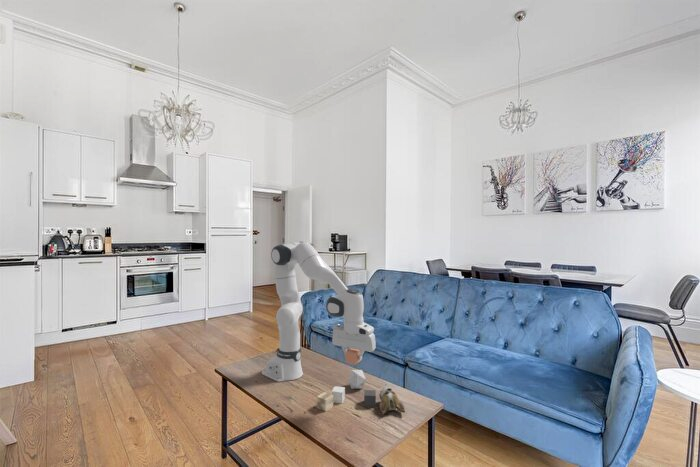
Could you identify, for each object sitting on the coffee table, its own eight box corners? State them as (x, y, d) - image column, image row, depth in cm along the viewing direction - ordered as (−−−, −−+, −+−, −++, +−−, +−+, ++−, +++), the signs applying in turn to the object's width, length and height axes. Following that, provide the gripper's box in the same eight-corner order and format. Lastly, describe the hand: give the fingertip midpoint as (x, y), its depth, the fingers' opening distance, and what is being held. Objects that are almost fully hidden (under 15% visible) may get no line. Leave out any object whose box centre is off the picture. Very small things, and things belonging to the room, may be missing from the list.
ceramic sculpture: (397, 379, 147) (406, 398, 132) (397, 398, 147) (406, 418, 132) (374, 381, 145) (381, 400, 131) (374, 399, 146) (381, 420, 131)
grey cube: (331, 402, 143) (331, 391, 143) (334, 396, 148) (334, 386, 148) (342, 403, 142) (342, 392, 142) (344, 398, 147) (344, 387, 147)
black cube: (364, 406, 140) (364, 395, 140) (364, 400, 145) (364, 389, 145) (375, 407, 139) (375, 395, 139) (375, 401, 144) (375, 390, 144)
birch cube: (317, 407, 138) (317, 396, 138) (324, 403, 142) (324, 392, 142) (325, 411, 135) (325, 400, 135) (333, 406, 139) (333, 395, 139)
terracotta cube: (345, 362, 140) (345, 351, 140) (350, 358, 144) (350, 347, 144) (355, 364, 137) (355, 353, 137) (360, 360, 142) (360, 349, 142)
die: (359, 395, 151) (370, 375, 154) (343, 384, 153) (354, 365, 156) (358, 393, 159) (369, 374, 162) (343, 382, 161) (354, 364, 164)
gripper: (329, 325, 143) (329, 355, 143) (371, 332, 133) (371, 364, 133) (336, 321, 148) (336, 351, 148) (377, 328, 139) (377, 359, 139)
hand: (353, 357), depth 141 cm, fingers closed on terracotta cube, 5 cm apart
